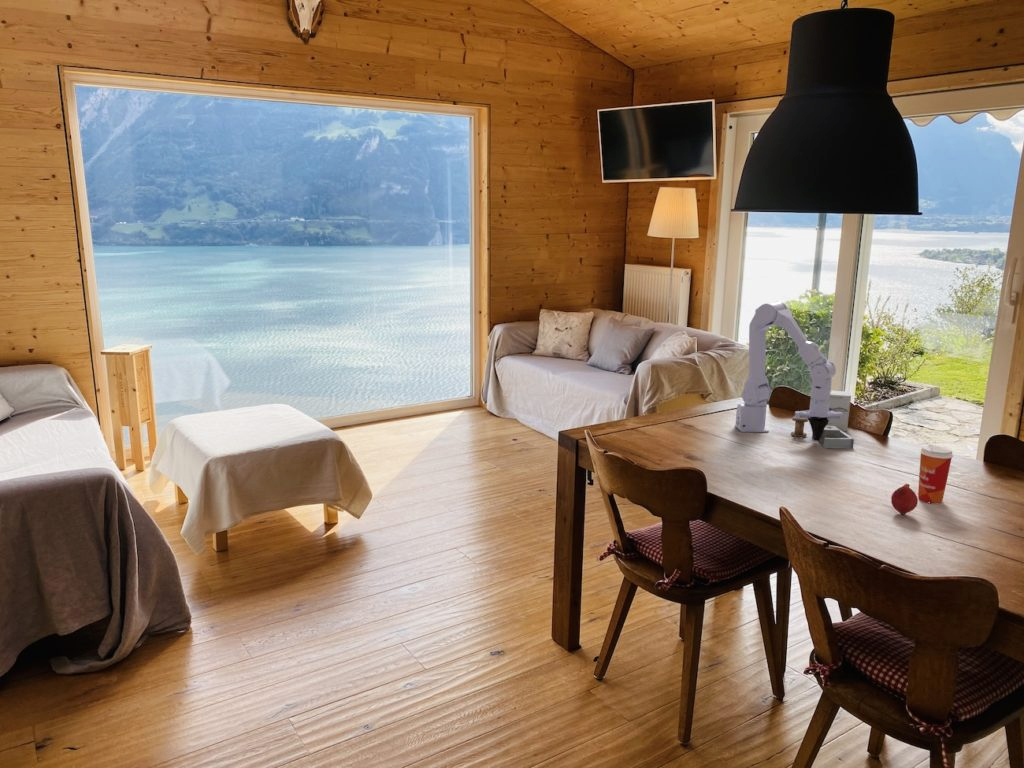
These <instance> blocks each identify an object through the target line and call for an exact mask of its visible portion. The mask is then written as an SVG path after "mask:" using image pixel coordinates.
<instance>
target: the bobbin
mask: <svg viewBox="0 0 1024 768" xmlns="http://www.w3.org/2000/svg"><path fill="white" fill-rule="evenodd" d="M791 418H792V421H794V430H793V431H791V432H790V436H791V435H792V436H791V437H793V436H795V437H794V438H799V437H804V438H806V436H808V434H807V433H806V432H804V429H805V423H808V422H809V420H808V418H800V419H797V418H796V417H795V415H793V416H792V417H791Z"/></svg>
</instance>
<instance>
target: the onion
mask: <svg viewBox="0 0 1024 768" xmlns="http://www.w3.org/2000/svg"><path fill="white" fill-rule="evenodd" d="M890 501H891V505H892V507H893V508H894V509H895V510H896V511H897V512H898V513H899V514H900V515H906V514H909V513H910V512H912V511H913V510H915V509H916V508H917V506H918V501H919V499H918V495H917V494H916V493H915V491H914V490H913V489H912V488H911V487H910V484H909V483H904V484H903V485H902V486H901V487H899V488H897V489H895V490H894V491H893V492H892V494H891V498H890Z"/></svg>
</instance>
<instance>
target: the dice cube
mask: <svg viewBox="0 0 1024 768" xmlns="http://www.w3.org/2000/svg"><path fill="white" fill-rule="evenodd" d="M839 435H840V430H839V429H838V428H837V427H836V426H826V427H825V428H824V429H823V432H822V434H821V436H820V439H819V441H818V442H819V444H821V445H823V446H824V438H839Z"/></svg>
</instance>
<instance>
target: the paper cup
mask: <svg viewBox="0 0 1024 768" xmlns="http://www.w3.org/2000/svg"><path fill="white" fill-rule="evenodd" d="M919 453H920V459H919V461H920V462H919V473H918V474H919V475H918V477H919V478H918V489H917V490H918V492H917V499H918V498H919V499H920V500H919V499H918V500H919V501H921V500H922V501H921V502H923V501H925V502H924V503H926V502H930V503H929V504H931V503H940V502H942V503H943V500H944V496H945V492H946V487H947V486H946V485H947V482H948V477H949V472H950V466H951V463H952V458H953V457H954V454H953V450H952V449H951V448H949V447H946V446H943V445H936V444H935V445H934V444H932V445H931V444H929V445H928V444H927V445H925V444H924V445H922V446H921V449H920V450H919ZM940 504H941V503H940Z"/></svg>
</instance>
